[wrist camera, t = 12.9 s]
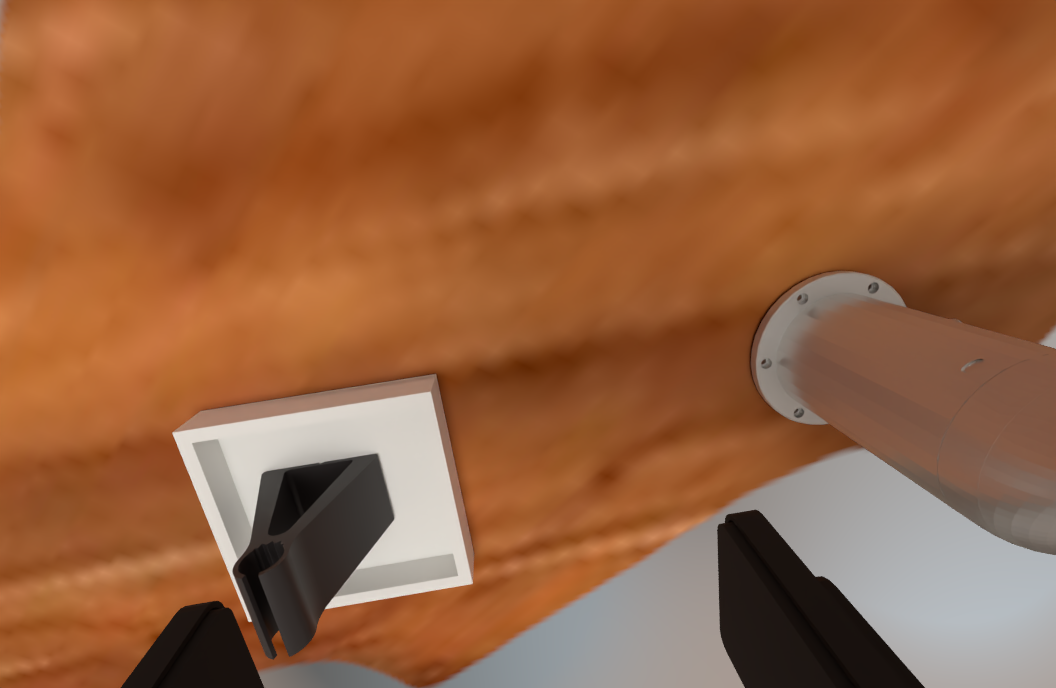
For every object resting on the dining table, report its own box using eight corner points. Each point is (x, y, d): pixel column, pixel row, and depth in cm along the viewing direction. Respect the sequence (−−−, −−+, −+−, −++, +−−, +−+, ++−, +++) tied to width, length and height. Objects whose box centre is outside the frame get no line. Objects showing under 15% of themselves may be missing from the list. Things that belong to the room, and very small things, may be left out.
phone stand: (285, 534, 40) (203, 671, 29) (263, 470, 38) (167, 590, 27) (395, 516, 40) (358, 645, 29) (379, 453, 38) (332, 563, 27)
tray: (436, 373, 38) (430, 391, 34) (474, 553, 43) (472, 583, 40) (200, 411, 37) (172, 432, 34) (268, 588, 42) (248, 621, 39)
